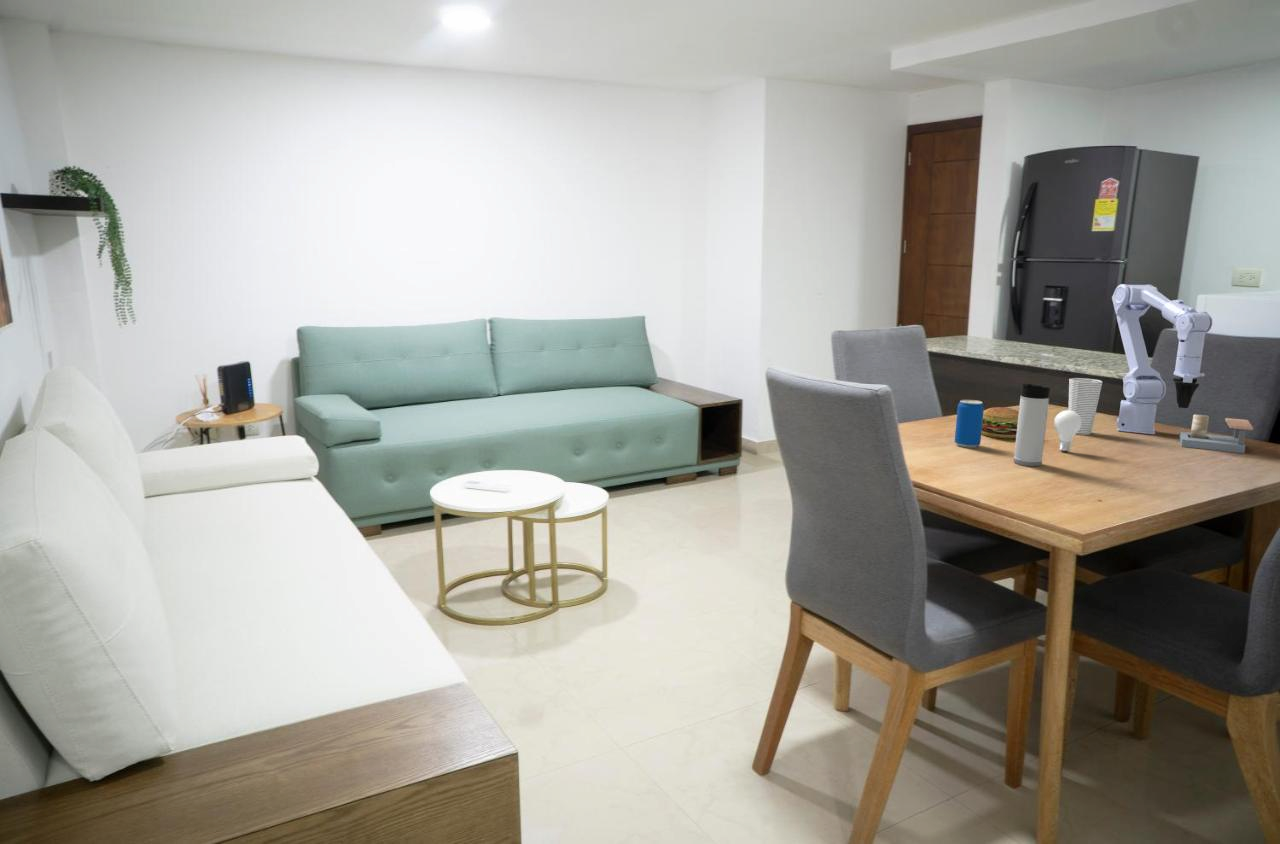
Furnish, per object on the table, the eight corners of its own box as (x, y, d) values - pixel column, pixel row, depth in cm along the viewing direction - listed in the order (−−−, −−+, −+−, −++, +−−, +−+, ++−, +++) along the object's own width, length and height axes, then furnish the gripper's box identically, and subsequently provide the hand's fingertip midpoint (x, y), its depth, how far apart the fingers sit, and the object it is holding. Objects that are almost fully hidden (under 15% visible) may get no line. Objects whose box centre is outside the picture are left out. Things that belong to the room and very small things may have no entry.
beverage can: (975, 443, 226) (980, 399, 224) (983, 448, 220) (987, 404, 217) (951, 442, 227) (955, 399, 224) (957, 447, 220) (962, 403, 218)
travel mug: (1006, 461, 206) (1015, 381, 202) (1027, 459, 208) (1036, 380, 204) (1026, 467, 200) (1035, 385, 196) (1047, 465, 203) (1056, 384, 199)
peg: (1190, 444, 229) (1194, 416, 227) (1188, 442, 232) (1192, 413, 231) (1205, 446, 227) (1210, 417, 226) (1203, 443, 231) (1207, 415, 229)
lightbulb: (1052, 447, 222) (1056, 407, 220) (1078, 451, 219) (1083, 409, 217) (1049, 452, 217) (1054, 410, 215) (1077, 455, 214) (1082, 413, 211)
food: (981, 439, 232) (983, 411, 230) (970, 429, 245) (973, 402, 244) (1033, 442, 229) (1036, 413, 228) (1020, 431, 243) (1023, 405, 241)
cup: (1100, 436, 237) (1107, 382, 234) (1068, 435, 239) (1075, 381, 236) (1089, 430, 246) (1096, 378, 243) (1058, 429, 247) (1065, 377, 244)
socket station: (1181, 446, 226) (1185, 421, 225) (1179, 438, 237) (1182, 414, 236) (1249, 453, 219) (1253, 427, 217) (1243, 444, 230) (1247, 419, 228)
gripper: (1208, 360, 218) (1201, 411, 221) (1204, 355, 231) (1197, 403, 233) (1177, 358, 222) (1170, 408, 224) (1174, 353, 234) (1168, 401, 237)
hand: (1182, 405), depth 229 cm, fingers open, 7 cm apart
